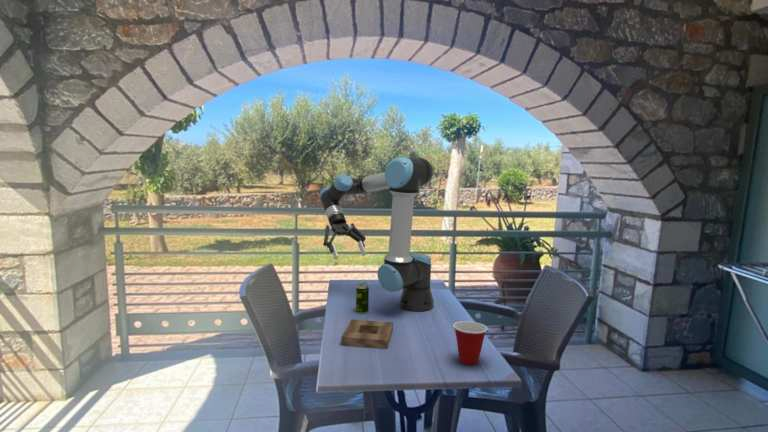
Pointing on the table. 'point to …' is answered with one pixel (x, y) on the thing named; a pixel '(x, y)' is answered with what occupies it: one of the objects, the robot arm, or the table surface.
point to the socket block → (367, 334)
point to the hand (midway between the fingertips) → (350, 256)
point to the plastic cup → (469, 340)
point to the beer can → (362, 298)
